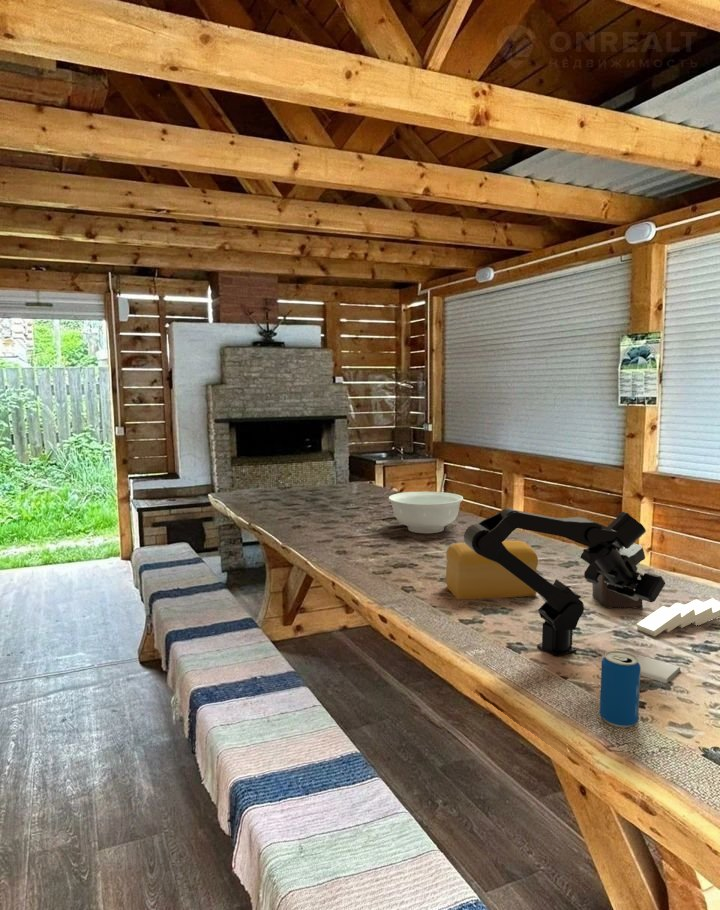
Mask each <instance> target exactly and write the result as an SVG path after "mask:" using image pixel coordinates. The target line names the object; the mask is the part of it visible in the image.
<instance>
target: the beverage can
mask: <svg viewBox="0 0 720 910" xmlns="http://www.w3.org/2000/svg"><path fill="white" fill-rule="evenodd" d="M622 651H623V650H609V651H606V652H605V653H604V657H603V658H602V659H601V666H600V667H601V670H600V694H599V695H600V699H599V715H600V717H601V719H603V720H604V721H605V722H606V723H607V724H608V725H610V726H613V727H616V728H621V729H626V728H631V727H632V726H634V725H636V724H638V723H639V709H640V689H641V675H640V664H639V663H638V658H637V657H636V656H634V655H632V654H630V653H631V652H629V653H627V652H628V651H626V652H622Z"/></svg>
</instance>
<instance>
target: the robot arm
mask: <svg viewBox="0 0 720 910" xmlns="http://www.w3.org/2000/svg"><path fill="white" fill-rule="evenodd" d="M516 529H520V530H524V531H525V530H526V531H530V532H535V533H542V534H545V535H546V534H547V535H552V536H557V537H558V536H559V537H563V538H565V539H567V540H570V541H572V542H575V543H578V544H580V545H583V546H585V547H587V548H584V549H583V550H582V553H581V555H580V559H581V560H583V561H584V562H585V563H587V564H588V566H587V568H586V569H585V571H584V575H583V577H584V579H585V580H586V581H587V582H588V583H591V584H592V585H593V584H597V583H598V582H599V581H598V580H597V578H598V577H599V575H603V576H606V578H605V580H604V582H605V583H607V584H608V585H607V588H608V589H609V590H612V591H614V592H617V593H619V594H621V595H624V596H626V597H628V598H630V599H633V600H635V601H638V599H639V598H640V599H642V601H645V602H649V603H654V602H656V600H657V598H658V596H660V595H659V594H660V593H661V592H662V589H664V587H665V585H666V582H665V580H664V578H663V577H662V576H661V575H659V574H655V573H652V572H644V574H642V575H643V576H641V575H640V574H639V573H640V572H639V573H636V571H637V570H638V566H637V565H638V564H640V563H642V561H645V559H646V554H645V551H644V547H643V545H641V544H637V543H636V541H638V540H639V539H640V538H642V536H643V535H644V534H645V533H646V532H647V530H646V528H645V527H644V525H643V524H642V523H641V522H639V521H637V519H635V518H634V517H632V516H631V515H630V514H629V512H626V511H621V512H620V513H619V514H618V515H617V517H616V518H615V519H614V520H613V521H612V522H611V523H610V524H608V526H606V525H603V524H600V523H598V522H595V521H593V520H591V519H589V518H585V517H581V516H578V517H577V516H576V517H575V516H570V517H563V518H560V517H553V516H548V515H543V514H537V513H533V512H527V511H526V512H525V511H521V510H515V509H514V508H511V507H506V508H504V509H502V510H500V511H499V512H498V513H496V514H494V515H492V516H490V517H487V518H485V519H483V520H482V521H480V522H478V523H475V524H471V525H469V526H468V527H467V528H466V529H465V531H464V535H463V541H464V543H466V544H467V545H468V546H469V547H470V548H471V549H472V550H474V551H475V552H476V553H477V554H479V555H481V556H483V557H485V558H487V559H489V560H491V561H494V562H496V563H498V564H500V565H501V566H503V567H504V568H505V569H507V570H508V571H509V572H511V573H512V574H513V575H515V576H516V577H517V578H519V579H520V580H521V581H523V582H524V583H525V584H527V585H528V586H529V587H531V588H532V589H533V590H534V591H536V594H538V595H539V596H540V597H541V599H542V600H543V601H544V603H543V604H542V605H541V606H540V607H539V608H538V610H537V611H538V613H539V618H541V619H542V620H543V621H544V622H543V623H542V629H541V630H542V637H541V638H542V639H541V643H537V644H536V647H537V648H539V649H541V650H543V651H544V652H547V653H549V654H551V655H554V656H555V657H560V656H561V657H562V656H563V655H567V654H571V653H574V652H576V651H577V648H576V647H574V646H572V645H573V632H574V630H576V628H577V625H578V624H579V621H580V618H581V617H582V616H583V614H584V609H585V608H584V606H585V604H584V602H583V601H582V600H581V599H580V598H581V597H582V596H581V595H579V594H578V593H576V592H575V591H574V590H572V589H571V588H570V587H569V586H568V585H566V584H564V583H563V582H561V581H560V580H558V579H557V578H556V579H555V580H554V582H550V581H549V580H547V579H545V578H544V577H543V576H541V575H540V574H539V573H538V572H537V573H536V572H535V571H534V570H532V569H531V568H530V567H529V566H527V565H526V564H525V563H523V562H522V561H521V560H519V559H518V558H517V557H515V556H514V555H513V554H512V553H510V552H509V551H508V550H507V548H506V547H505V546H504V545H503V543H502V542H503V541H506V539H508V537H509V536H510V535H511V534H512V532H514V531H515V530H516ZM637 572H638V571H637Z"/></svg>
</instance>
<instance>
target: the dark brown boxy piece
mask: <svg viewBox="0 0 720 910" xmlns="http://www.w3.org/2000/svg"><path fill="white" fill-rule="evenodd" d="M636 573H639V574H640V575H641V576H643V575H644V574H642V573H641V572H639V571H636ZM605 578H606V576H603V575H599V577H598V578H597V580H598V581H599V582H598V583H597V584H593V583H592V594H591V595H592V598H593V599H594V600H595V601H597V602H598V603H599V604H601V605H602V606H603V607H605V608H606V609H642V608H643V607H644V606H643V600H642V599H640V598H639V599H638V601H635V600H633V599H630V598H628V597H626V596H624V595H621V594H619V593H617V592H614V591H612V590H609V589H608V588H607V585H608V584H607V583H605V582H604V580H605ZM641 607H642V608H641Z"/></svg>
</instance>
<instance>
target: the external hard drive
mask: <svg viewBox="0 0 720 910" xmlns="http://www.w3.org/2000/svg"><path fill="white" fill-rule="evenodd" d="M621 651H622V652H627V653H630V654H632V655H634V656H636V657H637V658H638V663H639V664H640V677H643V678H644V677H645V678H648V679H650V680H651V679H652V680H653V681H657V682H661V683H664V684H668V683H669V682H670V681H671V680H673V678H674V677H675V676H676V675H678V674H679V673H680V672H681V666H678V665H676V664H675V665H674V664H671V663H667V662H664V661H661V660H657V659H654V658H650V657H646V656H643V655H639V654H636V653H631V652H628V651H625V650H621Z"/></svg>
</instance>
